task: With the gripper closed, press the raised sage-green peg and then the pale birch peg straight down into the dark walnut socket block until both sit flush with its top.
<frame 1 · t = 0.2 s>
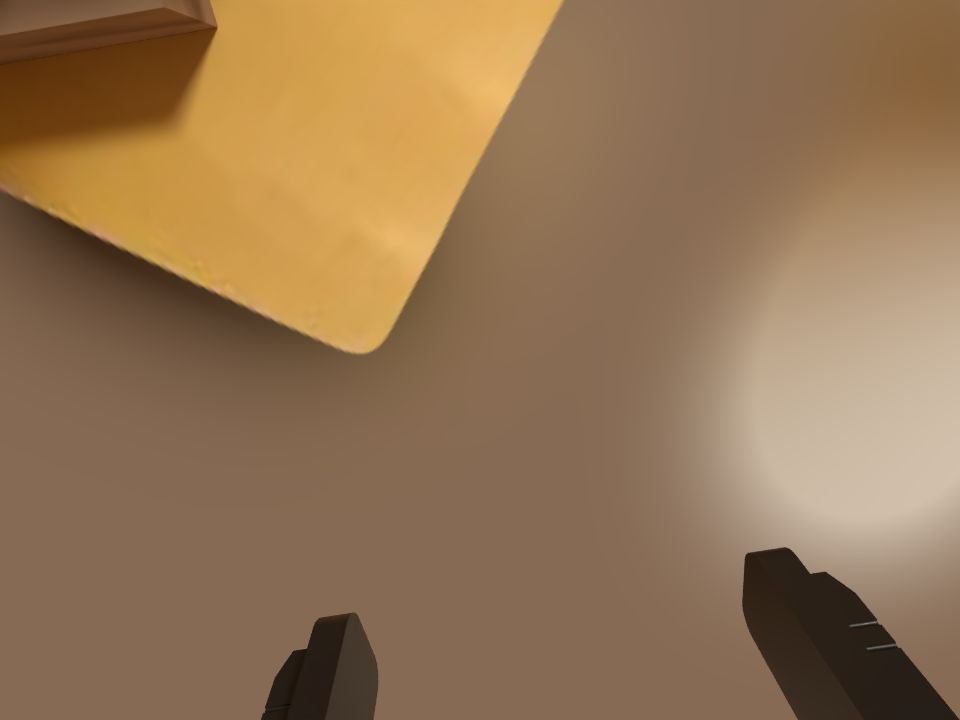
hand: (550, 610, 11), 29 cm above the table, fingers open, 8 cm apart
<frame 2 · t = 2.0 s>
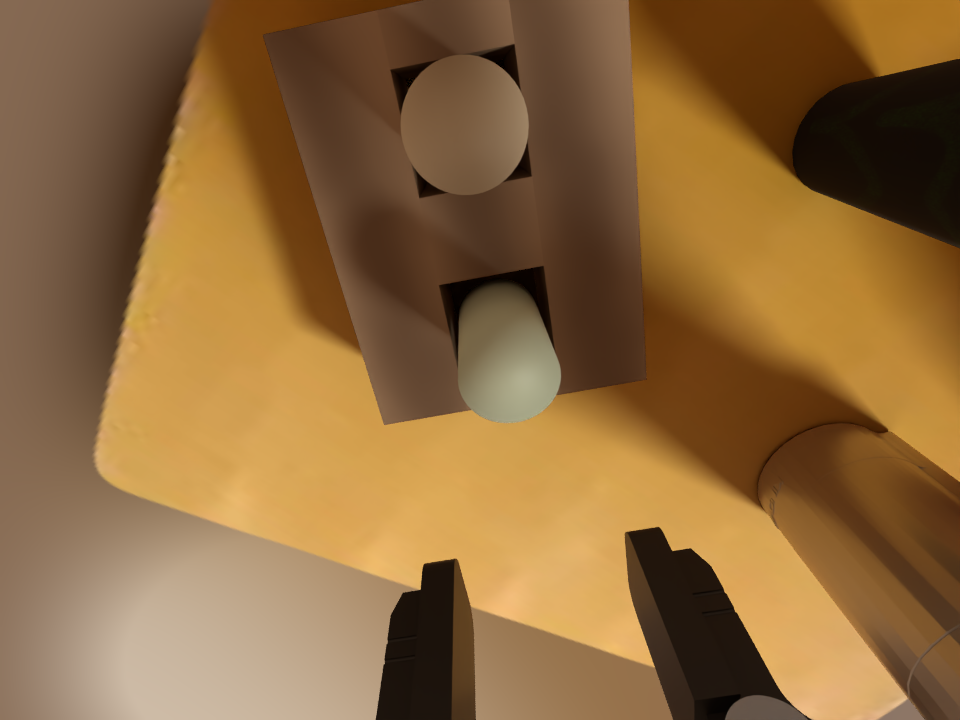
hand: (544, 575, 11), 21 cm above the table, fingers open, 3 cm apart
cup: (842, 140, 28), on the table
peg sage: (503, 343, 23), point 8 cm above the table, slide at 5.0 cm
peg birch: (464, 126, 19), point 8 cm above the table, slide at 5.0 cm
socket block: (479, 210, 29), on the table
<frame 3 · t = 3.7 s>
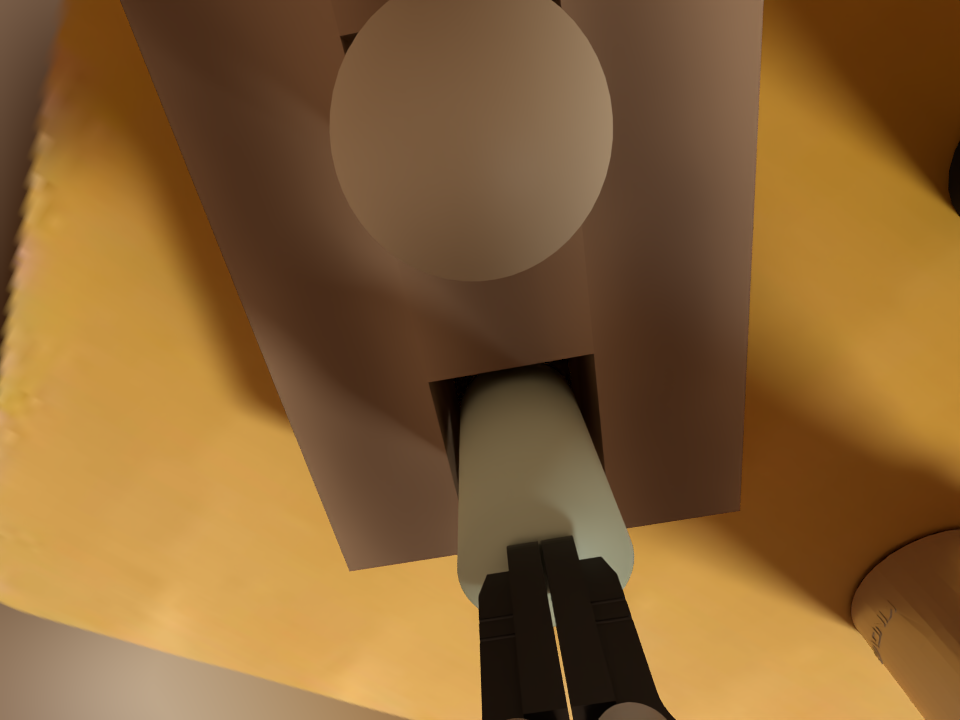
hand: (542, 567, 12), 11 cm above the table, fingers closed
peg sage: (528, 473, 15), point 8 cm above the table, slide at 4.4 cm, touching gripper
peg birch: (470, 136, 10), point 8 cm above the table, slide at 5.0 cm
socket block: (490, 253, 20), on the table
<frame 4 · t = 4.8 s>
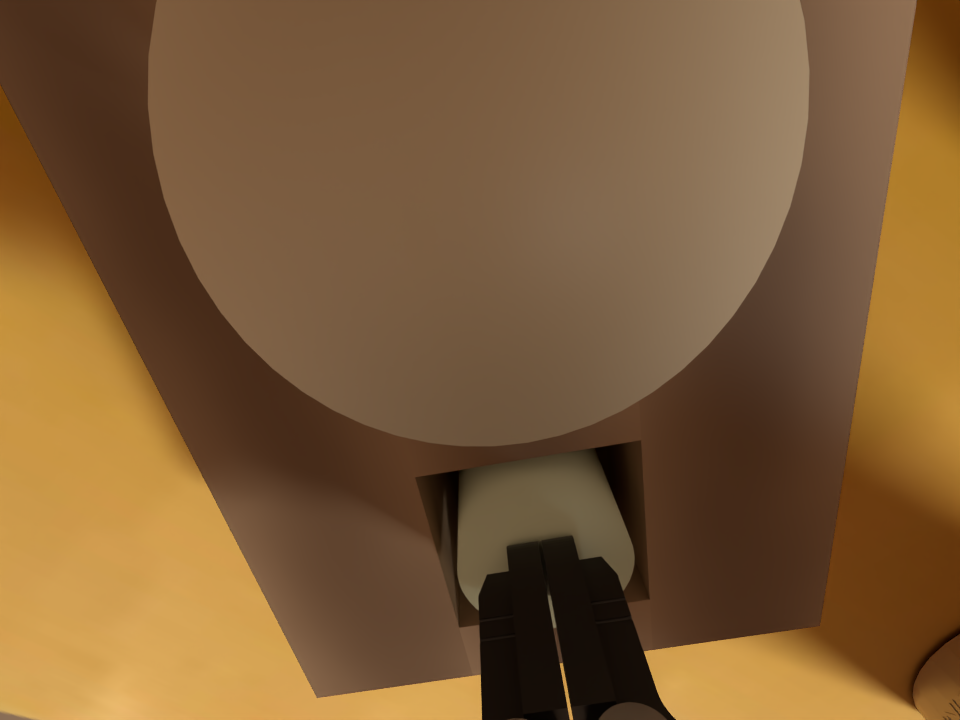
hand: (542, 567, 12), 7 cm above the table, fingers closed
peg sage: (528, 474, 15), point 3 cm above the table, slide at 0.0 cm, touching gripper
peg birch: (474, 149, 6), point 8 cm above the table, slide at 5.0 cm
socket block: (496, 288, 16), on the table
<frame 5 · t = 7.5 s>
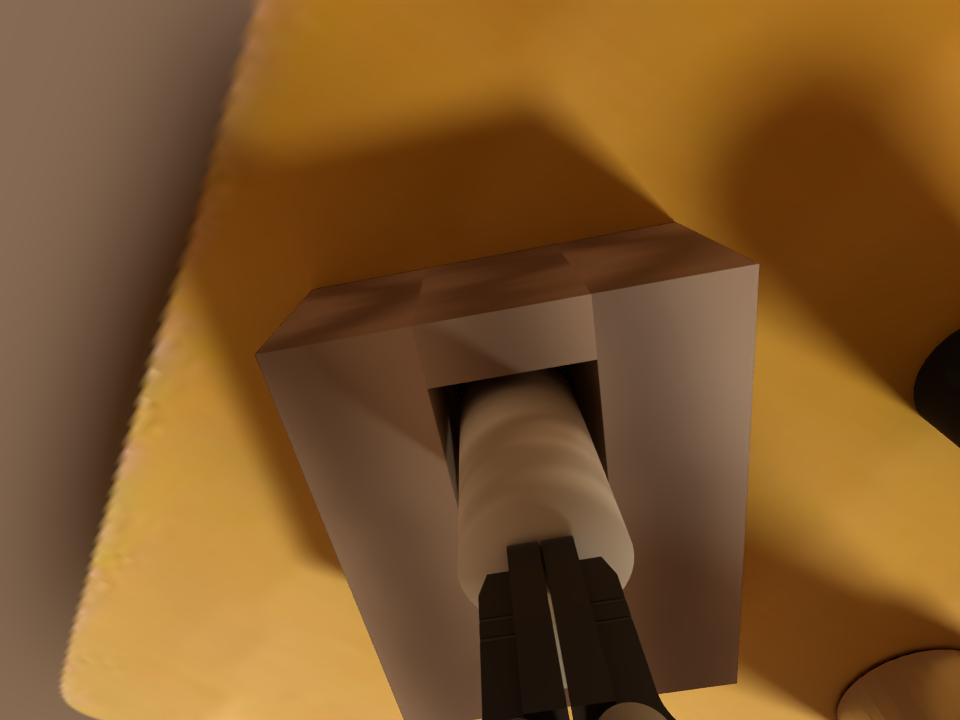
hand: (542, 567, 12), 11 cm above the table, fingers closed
peg sage: (547, 580, 22), point 3 cm above the table, slide at 0.0 cm
peg birch: (528, 473, 15), point 7 cm above the table, slide at 4.0 cm, touching gripper
socket block: (524, 449, 23), on the table
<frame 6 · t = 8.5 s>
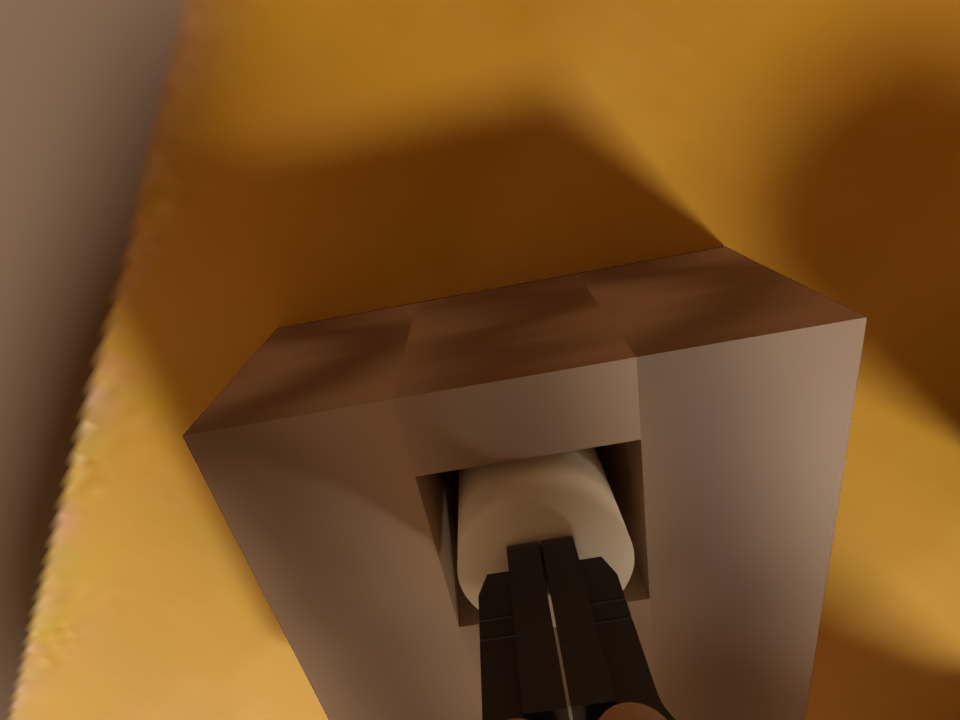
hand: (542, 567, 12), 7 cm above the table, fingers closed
peg sage: (563, 671, 19), point 3 cm above the table, slide at 0.0 cm
peg birch: (528, 473, 15), point 3 cm above the table, slide at 0.0 cm, touching gripper
socket block: (535, 511, 20), on the table
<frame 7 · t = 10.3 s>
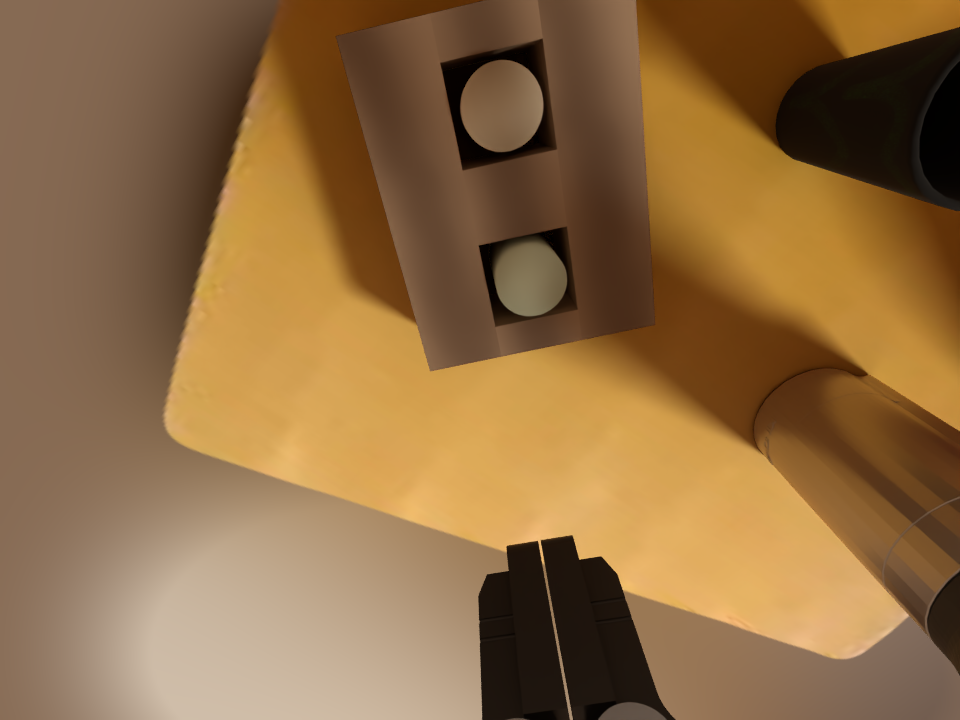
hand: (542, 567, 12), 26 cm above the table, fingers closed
cup: (818, 114, 32), on the table
peg sage: (524, 266, 32), point 3 cm above the table, slide at 0.0 cm
peg birch: (496, 107, 28), point 3 cm above the table, slide at 0.0 cm
socket block: (505, 184, 33), on the table
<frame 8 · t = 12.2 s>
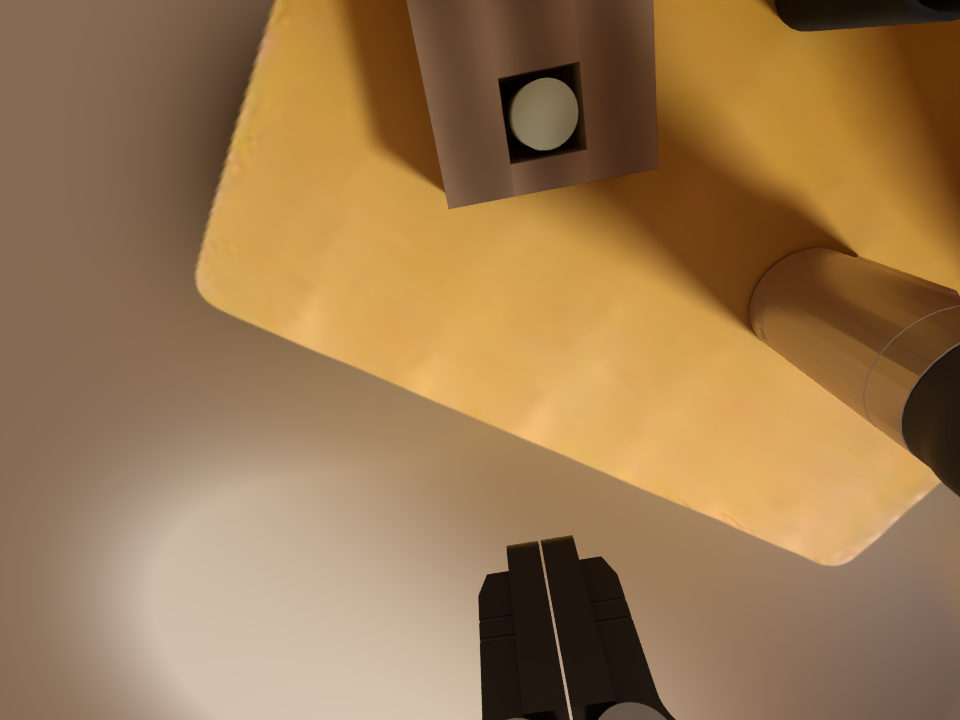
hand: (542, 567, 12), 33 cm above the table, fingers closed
peg sage: (538, 115, 34), point 3 cm above the table, slide at 0.0 cm
socket block: (523, 44, 36), on the table
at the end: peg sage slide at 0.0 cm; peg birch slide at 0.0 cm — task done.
